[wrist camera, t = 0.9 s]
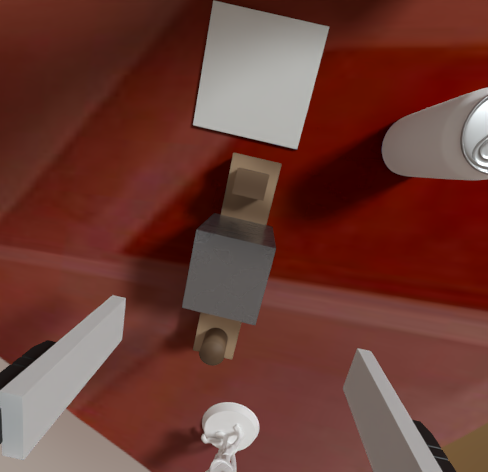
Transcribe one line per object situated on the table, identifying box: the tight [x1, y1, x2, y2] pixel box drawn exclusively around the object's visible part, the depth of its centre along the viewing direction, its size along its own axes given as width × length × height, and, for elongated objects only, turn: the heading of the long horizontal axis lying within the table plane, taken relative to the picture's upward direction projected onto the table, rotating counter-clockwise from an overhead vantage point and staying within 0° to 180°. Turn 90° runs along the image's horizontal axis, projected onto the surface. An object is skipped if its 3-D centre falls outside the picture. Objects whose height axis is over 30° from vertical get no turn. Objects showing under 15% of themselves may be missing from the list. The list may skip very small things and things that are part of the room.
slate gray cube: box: [182, 213, 276, 325], centre depth 26 cm, size 7×6×8 cm
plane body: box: [193, 153, 281, 365], centre depth 30 cm, size 24×5×7 cm, turn 167°
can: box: [382, 88, 488, 180], centre depth 24 cm, size 6×6×12 cm
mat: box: [193, 0, 329, 149], centre depth 29 cm, size 12×12×1 cm
